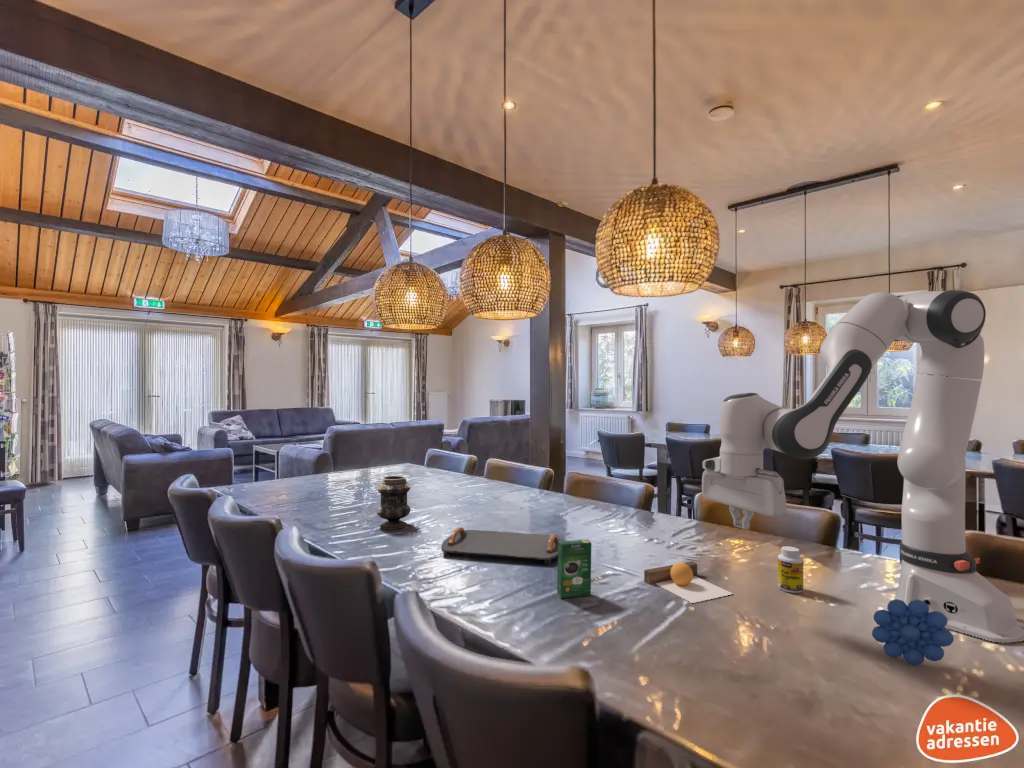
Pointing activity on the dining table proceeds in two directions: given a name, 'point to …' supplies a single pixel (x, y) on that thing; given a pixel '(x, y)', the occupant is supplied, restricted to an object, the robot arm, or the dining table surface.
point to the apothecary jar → (393, 501)
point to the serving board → (502, 544)
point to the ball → (681, 574)
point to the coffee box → (574, 568)
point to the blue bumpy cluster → (912, 631)
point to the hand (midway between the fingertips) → (741, 527)
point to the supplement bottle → (790, 570)
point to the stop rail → (664, 573)
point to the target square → (695, 590)
